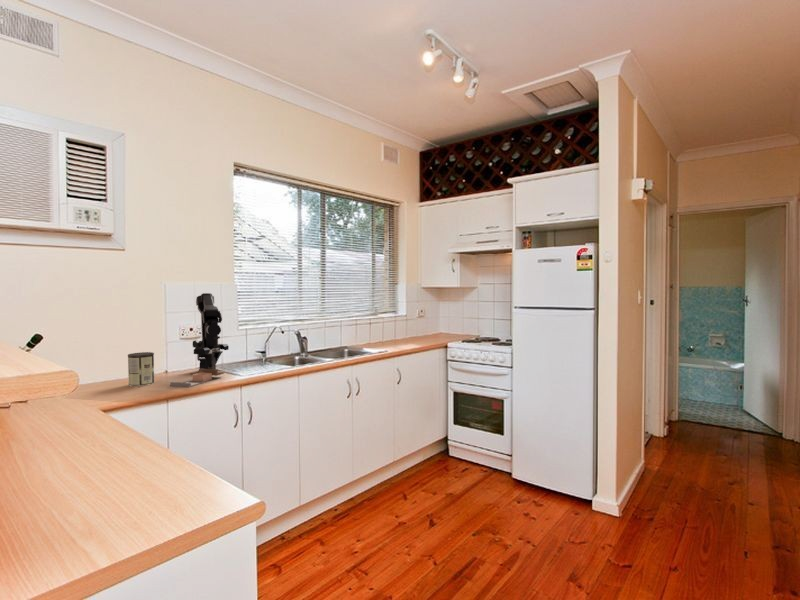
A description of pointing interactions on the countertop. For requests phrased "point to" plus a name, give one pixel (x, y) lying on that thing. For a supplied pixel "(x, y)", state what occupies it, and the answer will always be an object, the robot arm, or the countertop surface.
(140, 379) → the coffee can
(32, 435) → the countertop surface
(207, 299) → the robot arm
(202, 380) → the tile
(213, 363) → the beige ledged slab
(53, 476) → the countertop surface
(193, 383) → the gray ledged slab
